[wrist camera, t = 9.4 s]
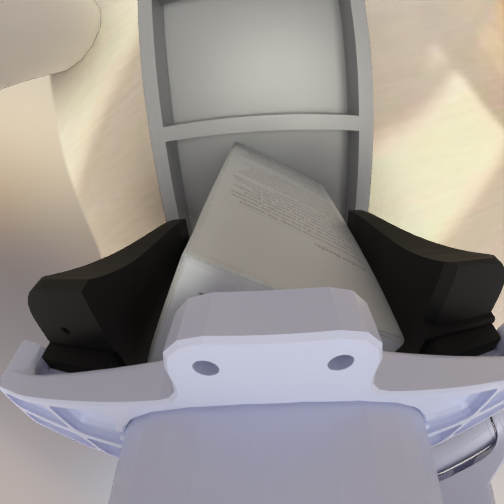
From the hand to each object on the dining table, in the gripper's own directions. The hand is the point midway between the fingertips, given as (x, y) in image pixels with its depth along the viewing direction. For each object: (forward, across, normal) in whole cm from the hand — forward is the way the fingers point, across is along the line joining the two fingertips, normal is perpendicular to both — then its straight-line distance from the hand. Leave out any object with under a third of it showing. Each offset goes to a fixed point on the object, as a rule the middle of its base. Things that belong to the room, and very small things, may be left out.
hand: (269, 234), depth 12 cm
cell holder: (+6, 0, 0) cm, 6 cm away
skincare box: (+6, 0, 0) cm, 6 cm away
